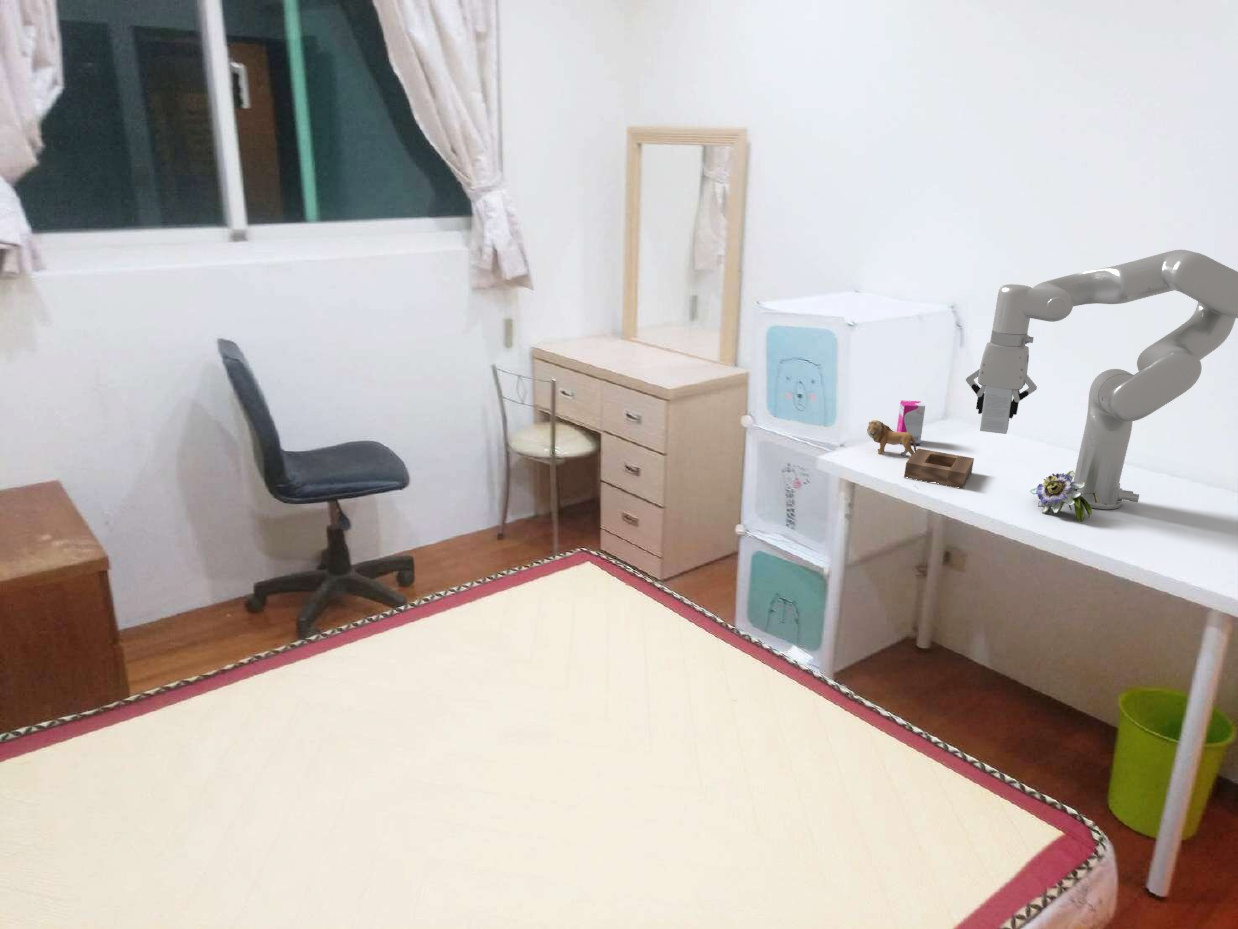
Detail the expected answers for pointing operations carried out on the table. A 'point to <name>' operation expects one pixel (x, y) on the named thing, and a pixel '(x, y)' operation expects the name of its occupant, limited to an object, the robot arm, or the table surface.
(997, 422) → the skincare box
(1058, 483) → the passion flower
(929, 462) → the holder block
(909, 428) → the supplement box
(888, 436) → the lion figurine
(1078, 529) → the table surface
